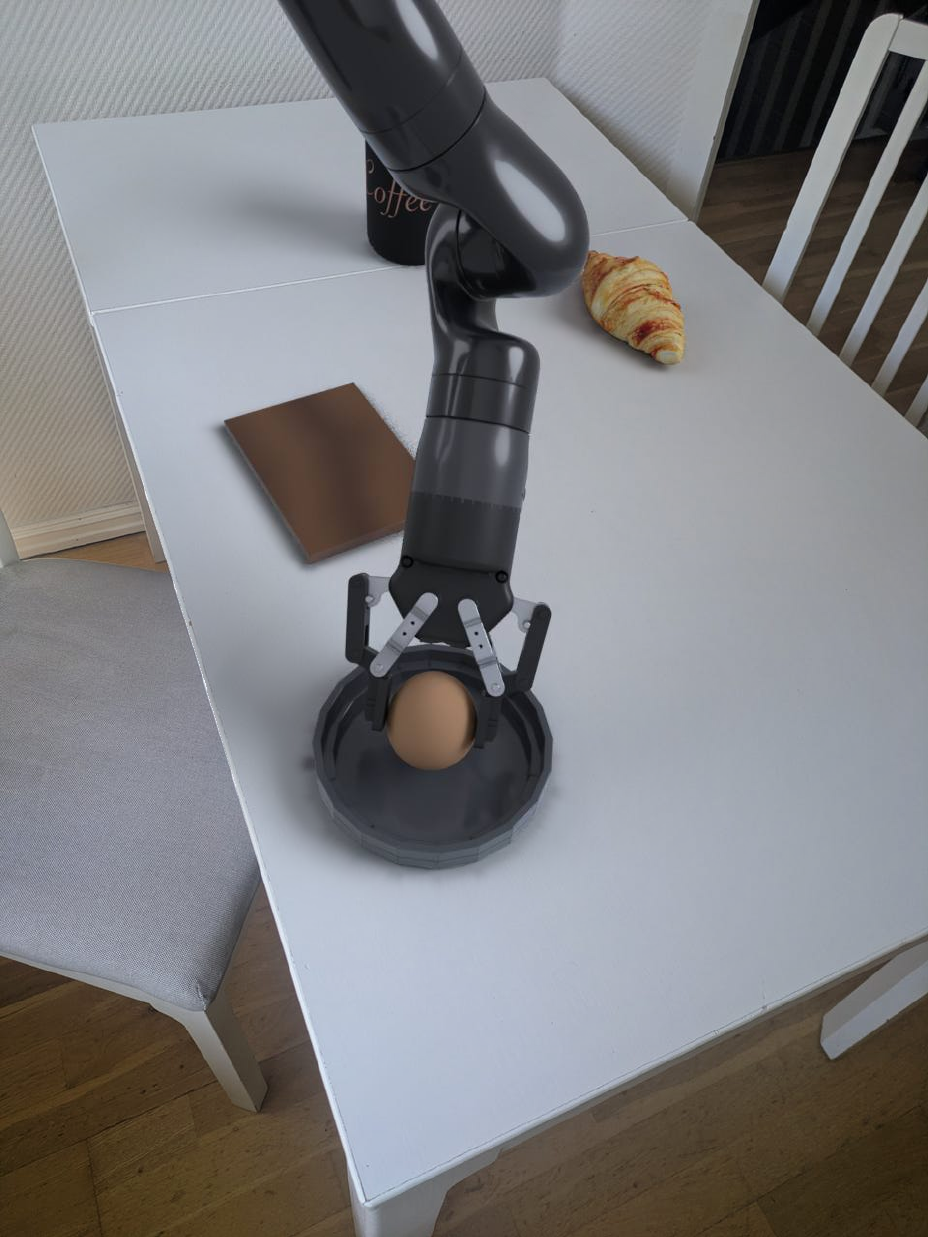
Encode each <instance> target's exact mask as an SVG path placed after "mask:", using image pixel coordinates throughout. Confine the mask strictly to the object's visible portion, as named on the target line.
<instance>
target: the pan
mask: <svg viewBox="0 0 928 1237" xmlns="http://www.w3.org/2000/svg"><path fill="white" fill-rule="evenodd" d="M499 664H500V667H501V669H502V672H503V673H504V672H510V671H511V670H510V669H509V668H508V667H506V666H505V665H504V664H502V663H501V661H499ZM428 671H439V672H443V673H446V674H449V675H451V676H453V677H455V678H456V679H458V680H459V681H460V682H461V683H462V684H463V685H464V686H465V687H466V688H467V689H468V691H469V692H470V694H471V695H472V697H473V699H474V702H475V704H476V708H477V713H478V716H479V710H480V704H481V697H482V692H483V690H486V686H485V683H484V680H483V677H482V674H481V671H480V668H479V666H478V664H477V662H476V659H475V656H474V653H473V650H472V649H469V648H466V649H460V648H454V647H452V646H449V645H447V644H439V643H433V644H430V643H423V644H416V645H408V646H407V647H406V648H405V650H404V651H403V652H402V654H401V655H400V656H399V658H398V659H397V660H396V662H395V663H394V664H393V666H392V667H391V671H390V674H393V679H392V686H391V692H390V699H389V705H390V702H391V700H392V697H393V695H394V694H395V692H396V691H397V690H398V688H399V687H400V686H401V685H402V684H403V683H405V682H406V681H407V680H408V679H410V678H411V677H413V676H415V675H417V674H420V673H423V672H428ZM368 683H369V674H368V672H367V671H366V670H365V669H364V668H363V667H361V666H359V665H358V666H357V667H355V668H354V669H352V670H351V671H350V672H349V673H347V674H346V675H345V676H344V677H343V678H341V679H340V680H339V681H338V682H337V683H336V684H335V686H334V688H333V689H332V690H331V692H330V694H329V696H328V697H327V698H326V700H325V702H324V703H323V704H322V706H321V708H320V709H319V711H318V716H317V720H316V725H315V729H314V732H313V737H312V741H311V742H312V751H313V759H314V760H313V761H314V767H315V768H314V769H315V775H316V782H317V783H316V784H317V790H318V794H319V796H320V798H321V800H322V801H323V803H324V805H325V807H326V809H327V811H328V813H329V815H330V816H331V819H332V820H333V822H334V823H335V824H336V825H337V827H339V829H341V830H342V831H343V832H344V833H345V834H346V835H347V836H349V838H351V839H352V841H354V842H355V843H356V844H357V845H358V846H360V848H362V849H363V850H366V851H367V852H370V853H371V854H375V855H376V856H379V857H381V858H383V859H385V860H387V861H391V862H392V863H394V864H398V865H401V866H409V867H418V868H426V869H427V868H428V869H435V870H436V869H437V870H440V869H441V870H442V869H445V868H450V867H452V868H453V867H457V866H462V865H468V864H474V863H476V862H479V861H481V860H483V859H485V858H486V857H488V856H490V855H492V854H494V853H496V852H498V851H500V850H501V849H503V848H505V847H507V846H508V845H511V843H512V842H513V841H514V840H515V839H516V838H517V837H518V836H519V835H520V833H522V832H523V830H524V829H525V828H527V826H528V825H529V824H530V823H531V822H532V821H533V820H534V819H535V816H536V814H537V812H538V809H539V807H540V806H541V803H542V800H543V798H544V795H545V793H546V790H547V788H548V785H549V784H548V783H549V780H550V777H551V775H552V771H553V770H552V769H553V747H554V737H553V734H552V730H551V727H550V724H549V721H548V718H547V715H546V712H545V708H544V707H543V705H542V703H541V702H540V701H539V699H538V698H537V696H536V695H535V694H534V692H533V691H532V690H531V689H530V690H529V691H527V692H521V691H517V692H512V693H508V694H507V695H505V696H504V697H503V699H502V703H501V709H500V715H499V721H498V727H497V733H496V736H495V738H494V740H493V741H492V742H488V741H485V742H484V748H483V749H478V748H473V747H474V743H473V745H472V747H471V748H470V750H469V751H468V752H467V754H466V755H465V756H464V757H463V758H462V759H461V760H459V761H458V762H457V763H455V764H453V765H451V766H449V767H447V768H445V769H440V770H423V769H419V768H416V767H414V766H411V765H409V764H408V763H407V762H405V761H404V760H403V759H401V758H400V757H399V755H398V754H397V753H396V752H395V750H394V748H393V747H392V745H391V743H390V741H389V738H388V735H387V727H386V724H385V727H384V729H383V731H382V732H380V731H374V730H372V721H366V719H365V715H364V710H365V703H366V696H367V690H368ZM389 705H388V708H389ZM474 741H475V740H474Z"/></svg>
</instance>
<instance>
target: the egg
mask: <svg viewBox="0 0 928 1237" xmlns="http://www.w3.org/2000/svg"><path fill="white" fill-rule="evenodd" d="M477 722H478V713H477V708H476V704H475V702H474V699H473V697H472V695H471V694H470V692H469V691H468V689H467V688H466V687H465V686H464V685H463V684H462V683H461V682H460V681H459V680H458V679H456V678H455V677H453V676H451V675H449V674H446V673H443V672H439V671H428V672H423V673H420V674H417V675H415V676H413V677H411V678H410V679H408V680H407V681H406V682H405V683H403V684H402V685H401V686H400V687H399V688H398V690H397V691H396V692H395V694H394V695H393V697H392V700H391V702H390V705H389V708H388V711H387V719H386V727H387V735H388V738H389V741H390V743H391V745H392V747H393V748H394V750H395V752H396V753H397V754H398V755H399V757H400V758H401V759H403V760H404V761H405V762H407V763H408V764H409V765H411V766H414V767H416V768H419V769H423V770H440V769H445V768H447V767H449V766H451V765H453V764H455V763H457V762H458V761H459V760H461V759H462V758H463V757H464V756H465V755H466V754H467V752H468V751H469V750H470V748H471V747H472V745H473V743H474V740H475V734H476V728H477Z"/></svg>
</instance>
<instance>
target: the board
mask: <svg viewBox="0 0 928 1237" xmlns="http://www.w3.org/2000/svg"><path fill="white" fill-rule="evenodd" d="M223 423H224V428H225V431H226V433H227V435H228V436H229V438H230V439H231V441H232V443H233V444H234V446H235V448H236V449H237V451H238V452H239V454H240V455H241V457H242V459H243V460H244V462H245V463H246V464H247V466H248V468H249V470H250V471H251V472H252V474H253V476H254V478H255V479H256V480H257V482H258V484H259V485H260V487H261V489H262V490H263V492H264V493H265V495H266V497H267V498H268V500H269V501H270V503H271V504H272V506H273V508H274V509H275V511H276V513H277V514H278V516H279V517H280V519H281V520H282V522H283V524H284V525H285V527H286V528H287V530H288V532H289V533H290V535H291V537H292V538H293V540H294V541H295V544H297V546H298V547H299V550H300V551H301V553H302V554H303V555H304V557H305V559H306V560H307V563H309V565H313V564H315V563H317V562H320V561H322V560H325V559H328V558H331V557H334V556H336V555H340V554H342V553H345V552H348V551H350V550H352V549H356V548H358V547H361V546H364V545H366V544H369V543H371V542H374V541H378V540H380V539H382V538H386V537H388V536H391V535H393V534H396V533H399V532H402V531H404V530H405V523H406V516H407V509H408V503H409V496H410V490H411V483H412V476H413V470H414V463H415V458H414V457H413V456H412V454H410V452H409V451H408V449H407V448H406V447H405V446H404V445H403V443H402V441H401V440H400V439H399V438H398V437H397V435H396V434H395V433H394V432H393V430H392V429H391V428H390V427H389V425H388V424H387V423H386V422H385V420H384V419H383V418H382V416H381V415H380V414H379V413H378V411H377V410H376V409H375V407H373V405H372V403H370V401H369V400H368V399H367V397H366V396H365V395H364V393H362V391H361V390H360V389H359V387H358V386H357V384H356V383H355V382H354V381H353V382H349V383H346V384H342V385H339V386H336V387H332V388H329V389H325V390H321V391H318V392H315V393H312V394H311V393H310V394H308V395H304V396H302V397H298V398H295V399H291V400H288V401H285V402H281V403H278V404H274V405H271V406H267V407H264V408H261V409H258V410H254V411H251V412H247V413H244V414H240V415H237V416H233V417H229V418H227V419H224V420H223Z"/></svg>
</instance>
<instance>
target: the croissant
mask: <svg viewBox="0 0 928 1237" xmlns="http://www.w3.org/2000/svg"><path fill="white" fill-rule="evenodd" d="M581 286H582V289H583V295H584V302H585V305H586V307H587V308H588V311H589V312H590V315H591V317H592V319H593V320H594V321H595V322H596V323H597V324H598V325H599V326H600V327H601V328H602V329H603V330H604V331H606V332H607V333H609V334H610V335H612V336H613V337H614V338H617V339H619V340H621V341H623V342H627V343H628V346H630V347H632V348H633V349H636V350H640V351H643V352H644V353H645V354H650V355H651V356H652V357H653V360H655V361H658V362H660V363H662V364H664V365H668V366H674V365H678V364H680V363H681V361H682V360H683V358H684V354H685V349H686V346H687V345H686V335H685V333H684V331H685V319H684V315H683V313H682V310H681V308H682V307H681V305H680V304H679V303H678V302H676V301H674V292H673V289H672V286H671V284H670V281H669V275H668V274H666V273H665V272H664V271H663V270H662V269H661V268H659V267H658V266H657V265H656V264H655V263H653V262H652V261H649V260H647V259H645V258H641V257H640V256H639V255H636V256H634V257H631V258H628V257H626V256H612V255H611V254H609V253H605V252H602V253H599V252H598V251H597V250H594V249H593V250H589V253H588V258H587V261H586V264H585V266H584V269H583V271H582V274H581Z"/></svg>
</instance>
